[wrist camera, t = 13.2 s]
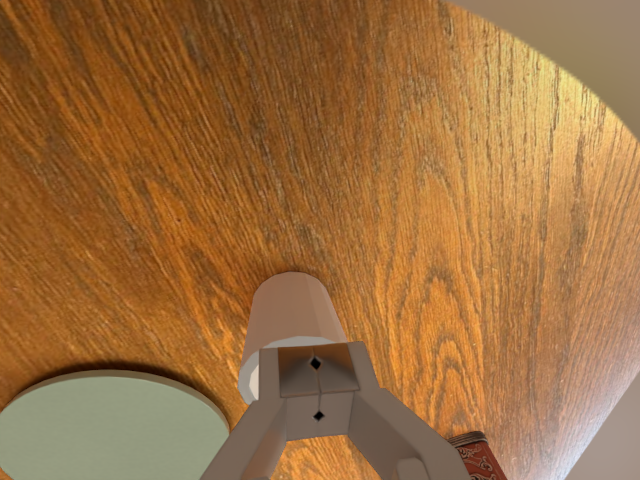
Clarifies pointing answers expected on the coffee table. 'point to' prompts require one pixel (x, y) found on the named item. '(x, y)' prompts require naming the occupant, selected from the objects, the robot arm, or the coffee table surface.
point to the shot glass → (286, 322)
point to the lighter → (477, 456)
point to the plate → (110, 429)
